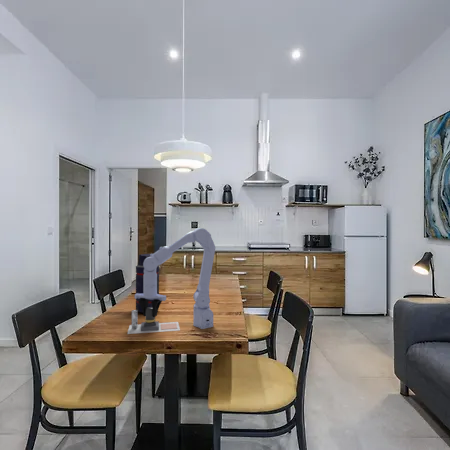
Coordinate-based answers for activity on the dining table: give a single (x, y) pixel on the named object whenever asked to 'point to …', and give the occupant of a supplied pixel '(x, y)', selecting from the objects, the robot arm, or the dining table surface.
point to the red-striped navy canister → (140, 280)
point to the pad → (169, 326)
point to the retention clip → (134, 319)
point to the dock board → (150, 327)
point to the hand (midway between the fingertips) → (150, 316)
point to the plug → (149, 315)
